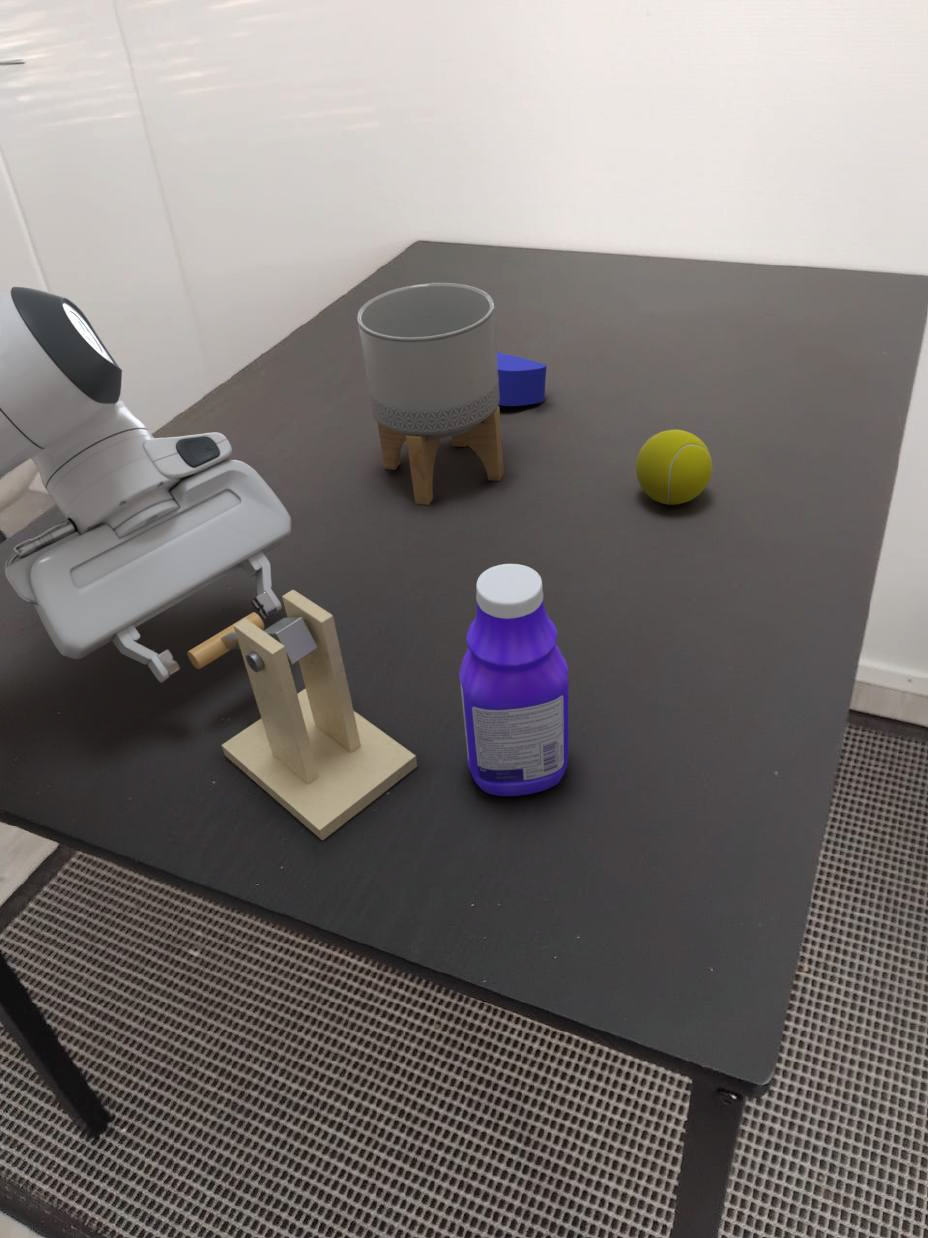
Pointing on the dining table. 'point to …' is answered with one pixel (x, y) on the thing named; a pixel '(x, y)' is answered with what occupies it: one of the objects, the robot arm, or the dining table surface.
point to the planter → (433, 376)
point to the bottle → (514, 687)
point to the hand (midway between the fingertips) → (223, 644)
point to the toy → (520, 380)
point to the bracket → (311, 729)
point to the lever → (284, 631)
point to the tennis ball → (673, 467)
